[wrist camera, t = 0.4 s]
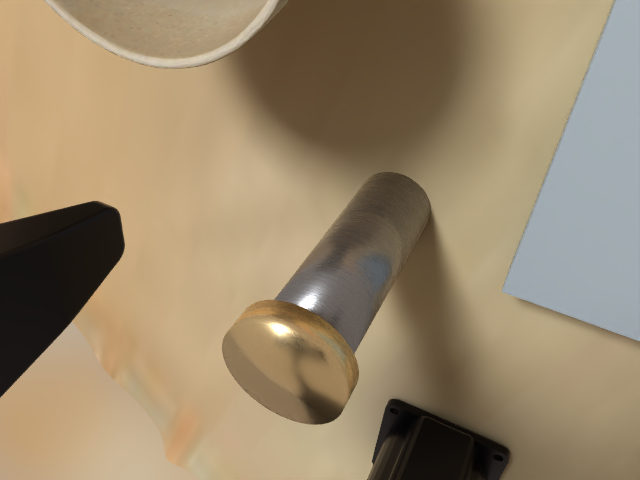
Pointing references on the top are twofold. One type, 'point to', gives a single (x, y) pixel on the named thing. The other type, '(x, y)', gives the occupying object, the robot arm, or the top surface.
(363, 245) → the bolt
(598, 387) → the top surface
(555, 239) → the keyhole board
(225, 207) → the top surface
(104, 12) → the grey bowl
